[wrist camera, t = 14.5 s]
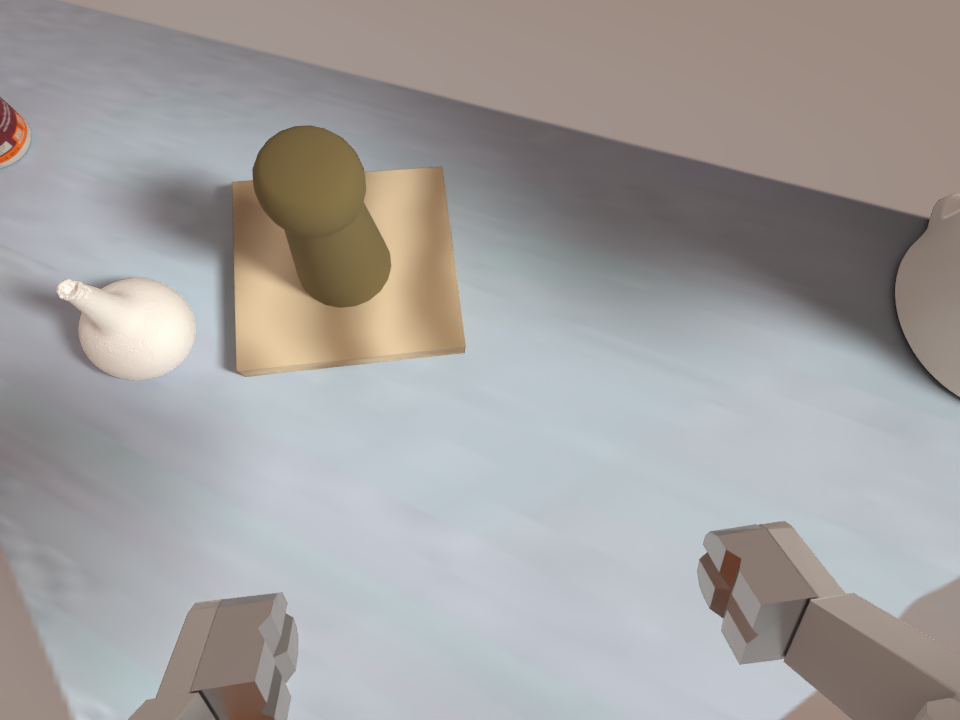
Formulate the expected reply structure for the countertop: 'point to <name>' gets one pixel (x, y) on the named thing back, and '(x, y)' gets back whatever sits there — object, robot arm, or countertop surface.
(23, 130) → the pill bottle
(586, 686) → the countertop surface
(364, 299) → the cork
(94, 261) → the countertop surface
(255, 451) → the countertop surface
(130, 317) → the garlic bulb
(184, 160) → the countertop surface
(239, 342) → the birch board
